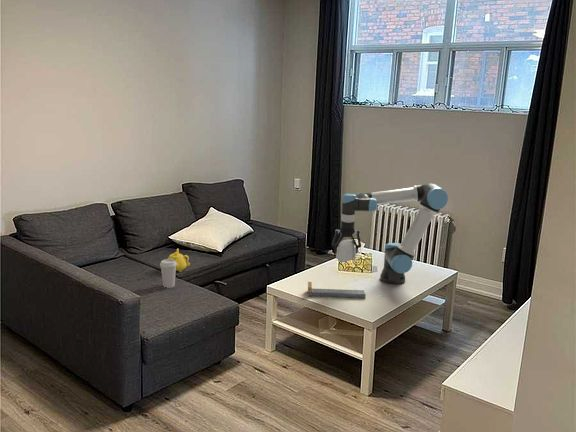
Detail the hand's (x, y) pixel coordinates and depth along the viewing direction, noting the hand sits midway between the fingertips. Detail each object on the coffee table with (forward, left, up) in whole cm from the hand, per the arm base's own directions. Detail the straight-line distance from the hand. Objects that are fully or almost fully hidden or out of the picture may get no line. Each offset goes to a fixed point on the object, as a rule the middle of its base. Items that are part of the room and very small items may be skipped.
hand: (345, 258), depth 320 cm
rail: (+5, +12, -18) cm, 22 cm away
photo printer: (0, 0, -1) cm, 1 cm away
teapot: (+102, -20, -18) cm, 106 cm away
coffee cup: (+101, +8, -18) cm, 103 cm away
